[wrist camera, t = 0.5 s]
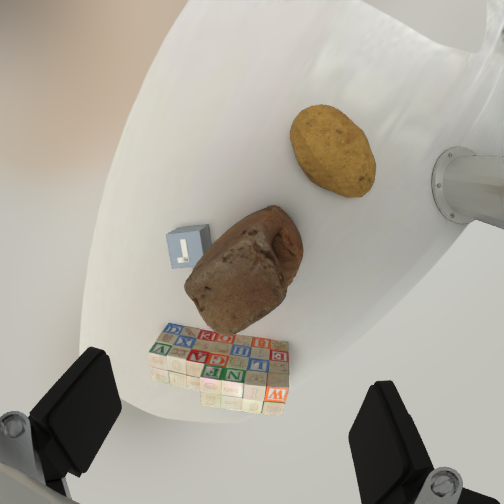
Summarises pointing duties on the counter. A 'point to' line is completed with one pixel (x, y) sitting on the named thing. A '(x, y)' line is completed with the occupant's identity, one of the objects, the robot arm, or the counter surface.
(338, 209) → the counter surface
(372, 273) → the counter surface
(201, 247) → the alphabet block
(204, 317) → the brown rock
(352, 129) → the potato
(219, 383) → the stack of blocks
